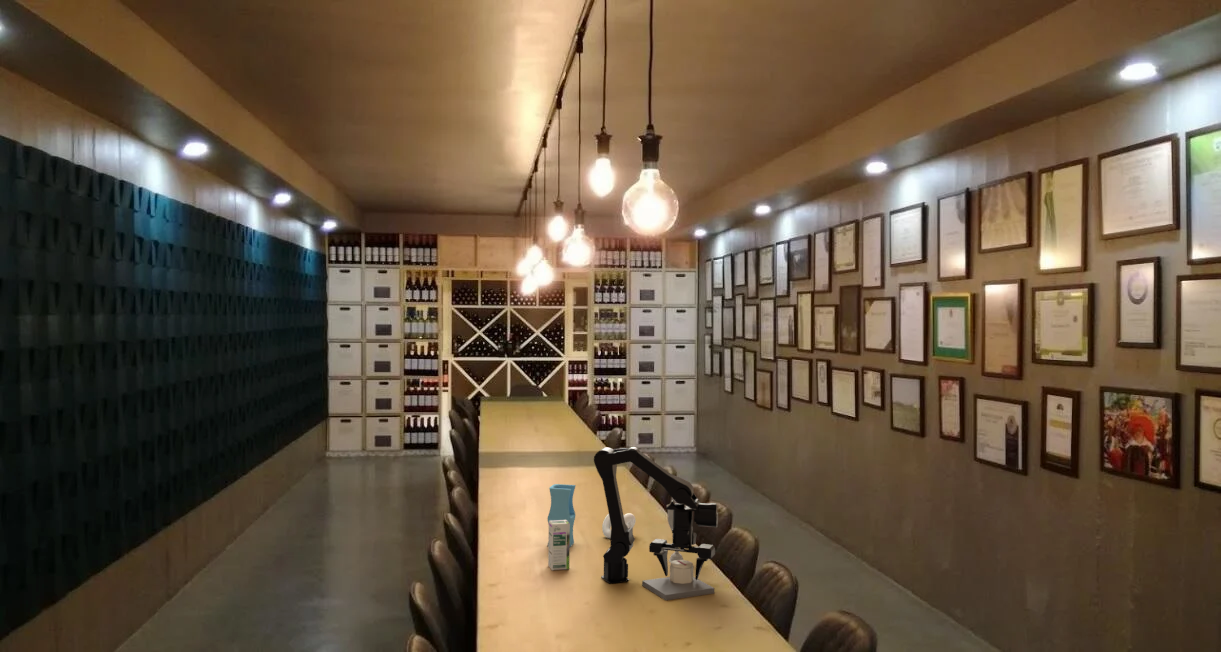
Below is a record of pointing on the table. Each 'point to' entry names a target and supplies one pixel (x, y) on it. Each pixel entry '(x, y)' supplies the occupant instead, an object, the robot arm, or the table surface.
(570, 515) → the vase
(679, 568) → the knob
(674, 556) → the chalice
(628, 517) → the white rounded lump
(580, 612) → the table surface
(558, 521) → the syrup box
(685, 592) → the board
